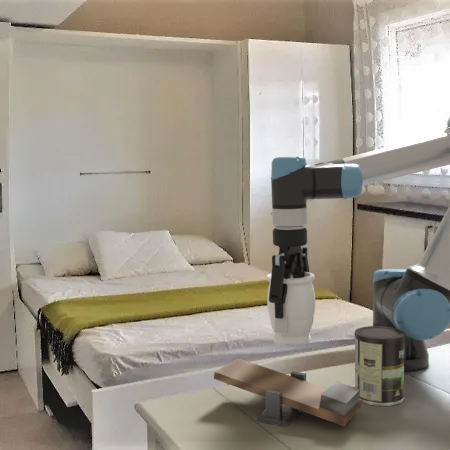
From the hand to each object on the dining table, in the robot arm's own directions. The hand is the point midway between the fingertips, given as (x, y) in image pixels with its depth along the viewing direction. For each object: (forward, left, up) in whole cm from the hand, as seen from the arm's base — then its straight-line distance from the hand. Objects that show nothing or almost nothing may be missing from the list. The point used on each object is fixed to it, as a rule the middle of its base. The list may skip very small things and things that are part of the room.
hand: (291, 326), depth 144 cm
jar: (0, 0, -4) cm, 4 cm away
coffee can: (-1, +20, -13) cm, 24 cm away
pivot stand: (+15, +6, -13) cm, 21 cm away
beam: (+15, +6, -9) cm, 18 cm away
